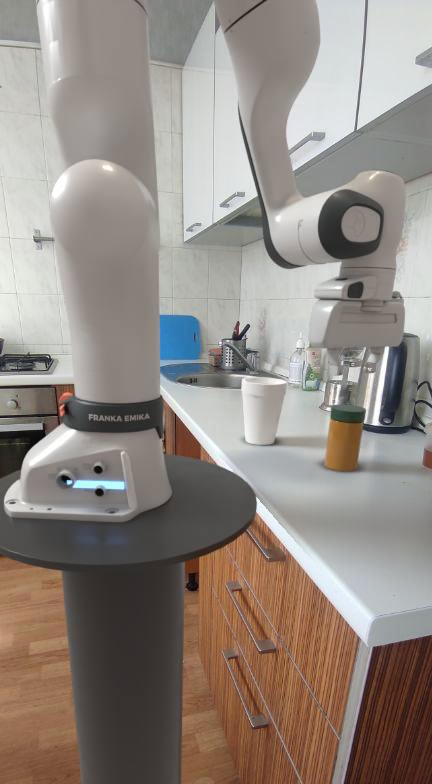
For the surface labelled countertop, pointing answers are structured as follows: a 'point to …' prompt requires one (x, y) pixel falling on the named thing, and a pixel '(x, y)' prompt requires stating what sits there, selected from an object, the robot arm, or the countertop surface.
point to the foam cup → (262, 408)
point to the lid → (348, 413)
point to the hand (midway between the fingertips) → (352, 374)
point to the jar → (343, 445)
